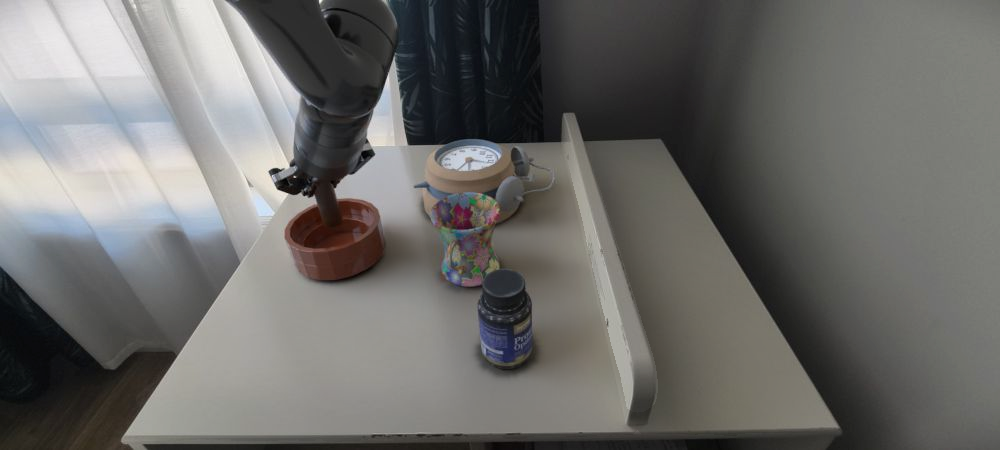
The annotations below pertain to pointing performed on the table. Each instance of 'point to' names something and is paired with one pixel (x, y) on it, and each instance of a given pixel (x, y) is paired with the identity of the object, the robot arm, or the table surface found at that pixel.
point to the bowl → (336, 241)
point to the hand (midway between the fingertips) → (318, 187)
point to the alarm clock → (478, 174)
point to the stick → (328, 204)
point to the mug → (467, 236)
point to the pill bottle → (505, 319)
